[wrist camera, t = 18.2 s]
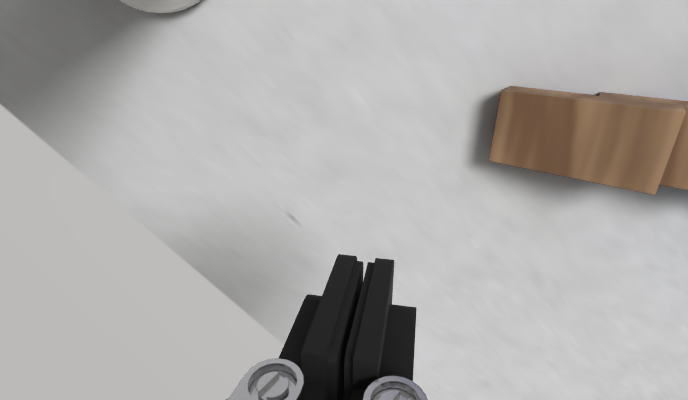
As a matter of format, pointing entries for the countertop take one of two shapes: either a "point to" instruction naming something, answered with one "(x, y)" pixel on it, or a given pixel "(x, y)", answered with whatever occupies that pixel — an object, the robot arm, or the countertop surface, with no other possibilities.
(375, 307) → the robot arm
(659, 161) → the domino
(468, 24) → the countertop surface
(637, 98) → the domino
